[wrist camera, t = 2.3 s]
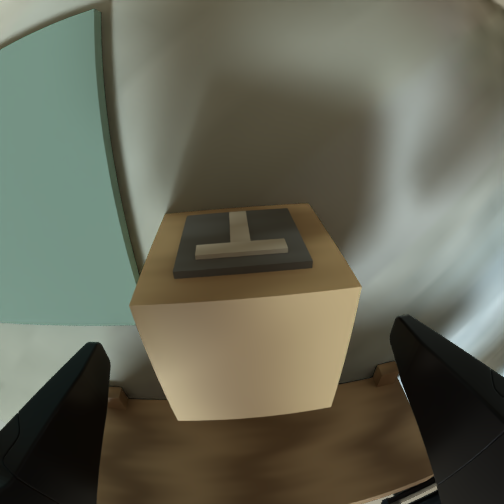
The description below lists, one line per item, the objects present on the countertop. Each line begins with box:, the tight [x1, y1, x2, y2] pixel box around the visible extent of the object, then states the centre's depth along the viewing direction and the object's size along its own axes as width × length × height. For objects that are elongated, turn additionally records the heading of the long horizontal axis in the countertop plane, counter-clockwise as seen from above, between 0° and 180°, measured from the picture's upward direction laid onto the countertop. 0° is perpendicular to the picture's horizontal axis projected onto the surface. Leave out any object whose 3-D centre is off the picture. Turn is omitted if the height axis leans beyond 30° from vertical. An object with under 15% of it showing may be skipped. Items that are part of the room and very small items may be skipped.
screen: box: [97, 361, 434, 504], centre depth 13 cm, size 18×4×8 cm, turn 92°
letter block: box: [129, 203, 362, 421], centre depth 10 cm, size 5×5×5 cm
